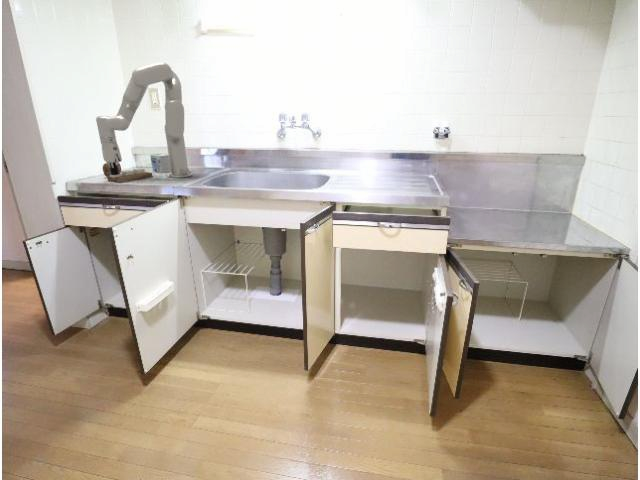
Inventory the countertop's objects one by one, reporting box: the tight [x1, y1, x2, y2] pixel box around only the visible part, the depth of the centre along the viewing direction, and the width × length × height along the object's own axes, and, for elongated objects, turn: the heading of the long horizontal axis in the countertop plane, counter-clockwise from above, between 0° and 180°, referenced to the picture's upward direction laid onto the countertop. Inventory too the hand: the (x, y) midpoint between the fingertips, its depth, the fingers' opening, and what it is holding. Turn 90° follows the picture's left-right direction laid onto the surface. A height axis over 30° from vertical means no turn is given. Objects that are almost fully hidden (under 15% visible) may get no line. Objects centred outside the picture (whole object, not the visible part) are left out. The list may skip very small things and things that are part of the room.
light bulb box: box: [150, 153, 171, 174], centre depth 225 cm, size 11×7×11 cm, turn 56°
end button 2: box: [132, 167, 146, 173], centre depth 210 cm, size 4×4×3 cm
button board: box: [106, 171, 153, 184], centre depth 204 cm, size 11×20×3 cm, turn 149°
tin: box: [102, 162, 122, 178], centre depth 213 cm, size 15×3×8 cm, turn 179°
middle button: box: [121, 169, 134, 175], centre depth 205 cm, size 4×4×3 cm
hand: (115, 174), depth 199 cm, fingers closed
